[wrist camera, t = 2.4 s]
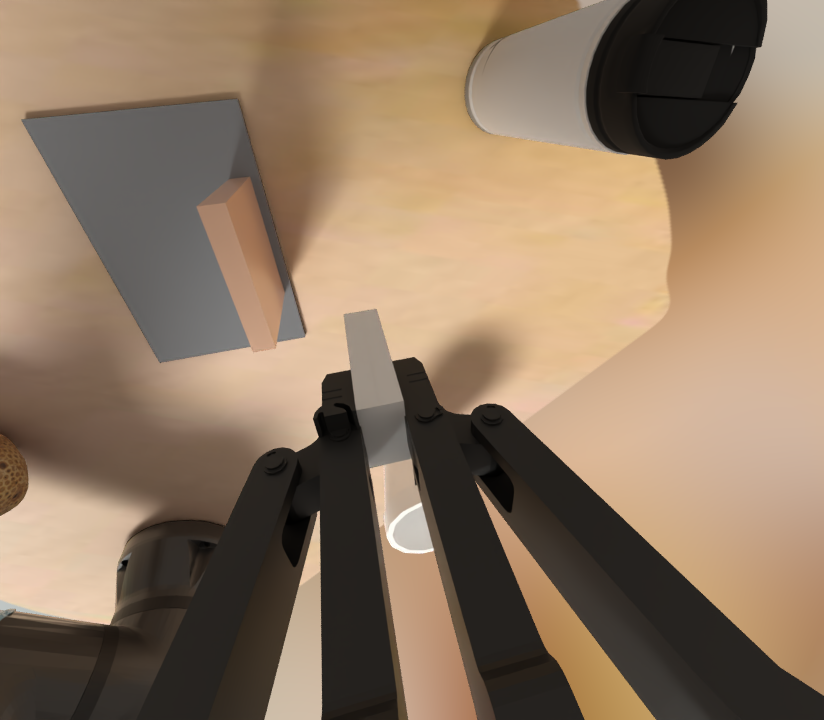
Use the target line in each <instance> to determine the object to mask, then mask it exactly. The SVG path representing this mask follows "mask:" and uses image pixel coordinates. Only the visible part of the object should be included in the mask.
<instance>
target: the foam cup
mask: <svg viewBox="0 0 824 720" xmlns="http://www.w3.org/2000/svg"><path fill="white" fill-rule="evenodd" d="M384 495H385V512H384V516H383V518H384V524H385V530H386V536H387V539H388V540H389V542H390V544H391V546H392V547H393V548H396V549H398V550H400V551H402V552H404V553H421V554H422V553H426V552H431V551H434V549H433V545H432V541H431V537H430V533H429V529H428V526H427V522H426V518H425V514H424V510H423V506H422V503H421V499H420V495H419V491H418V487H417V485H415V480H414V472H413V464H412V459H408V460H404V461H399V462H395V463H390V464H386V465H384Z"/></svg>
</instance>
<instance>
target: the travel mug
mask: <svg viewBox="0 0 824 720" xmlns="http://www.w3.org/2000/svg"><path fill="white" fill-rule="evenodd" d="M766 23H767V0H604V1H602V2H599V3H596V4H593V5H591V6H588V7H585V8H583V9H580V10H577V11H574V12H572V13H569V14H566V15H563V16H561V17H558V18H555V19H553V20H550V21H547V22H544V23H542V24H539V25H536V26H534V27H531V28H528V29H525V30H523V31H520V32H517V33H514V34H512V35H509V36H506V37H504V38H501V39H498V40H495V41H493V42H491V43H490V44H488V45H486V46H485V47H484V48H483V49H482V50H481V51H480V52H479V53H478V55H477V56H476V57H475V59H474V60H473V62H472V64H471V66H470V68H469V71H468V74H467V77H466V83H465V102H466V107H467V110H468V114H469V116H470V117H471V119H472V121H473V122H474V123H475V125H476V126H477V127H478V128H480V129H481V130H482V131H484V132H487V133H489V134H495V135H501V136H508V137H514V138H521V139H527V140H534V141H540V142H546V143H553V144H559V145H566V146H572V147H579V148H585V149H592V150H598V151H604V152H611V153H617V154H624V155H627V154H633V155H639V156H646V157H652V158H660V159H674V158H679V157H681V156H684V155H686V154H689V153H691V152H692V151H694V150H695V149H697V148H699V147H700V146H702V145H703V144H704V143H705V142H706V141H708V140H709V139H710V138H711V137H712V136H713V135H714V134H715V133H716V132H717V131H718V130H719V129H720V128H721V127H722V126H723V125H724V123H725V122H726V120H727V119H728V117H729V115H730V114H731V112H732V111H733V109H734V108H735V106H736V105H737V103H733V102H734V101H735V100H736V98H737V97H738V96H739V94H740V93H741V90H742V89H743V86H744V84H745V82H746V80H747V78H748V76H749V73H750V71H751V68H752V65H753V62H754V59H755V53H756V48H757V47H761V46H762V41H763V37H764V32H765V28H766Z"/></svg>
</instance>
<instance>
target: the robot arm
mask: <svg viewBox="0 0 824 720" xmlns="http://www.w3.org/2000/svg"><path fill="white" fill-rule="evenodd" d="M344 321H345V329H346V337H347V344H348V352H349V360H350V368H351V370H348V371H342V372H337V373H332V374H327V375H326V377H325V379H324V380H323V382H322V406H321V407H320V408H319V409H318V410H317V411H316V412H315V414H314V418H313V420H314V423H315V426H316V430H317V433H318V436H319V437H318V439H317V440H316V441H315V442H314V443H312V444H311V445H310V446H308V447H306V448H304V449H302V450H300V451H298V452H296V453H295V452H294V451H293V450H291V449H289V448H277V449H273V450H271V451H269V452H266V453H265V454H264V455H262V456H261V457H260V458H259V459H258V460H257V461H256V463H255V464H254V466H253V468H252V470H251V473H250V475H249V477H248V479H247V481H246V483H245V486H244V488H243V490H242V492H241V494H240V496H239V498H238V501H237V503H236V505H235V507H234V509H233V511H232V514H231V516H230V518H229V520H228V522H227V524H226V527H223V526H220V525H217V524H213V523H208V522H202V521H174V522H167V523H162V524H158V525H155V526H152V527H149V528H147V529H145V530H143V531H141V532H139V533H137V534H136V535H135V536H133V537H132V538H131V539H130V540H129V541H128V543H127V544H126V546H125V548H124V550H123V553H122V555H121V557H120V560H119V562H118V567H117V582H116V603H115V613H114V616H113V619H112V621H111V624H110V625H104V624H97V623H90V622H84V621H77V620H70V619H64V618H57V617H50V616H43V615H37V614H30V613H23V612H16V609H8V610H6V611H3V610H0V720H264V718H265V715H266V711H267V707H268V703H269V699H270V695H271V691H272V687H273V684H274V680H275V676H276V672H277V668H278V664H279V660H280V656H281V653H282V649H283V645H284V641H285V637H286V633H287V629H288V625H289V621H290V618H291V614H292V610H293V606H294V602H295V598H296V594H297V590H298V587H299V583H300V579H301V575H302V571H303V567H304V564H305V560H306V556H307V552H308V548H309V544H310V540H311V536H312V533H313V529H314V525H315V521H316V517H317V512H318V511H320V555H321V637H322V638H321V639H322V640H321V641H322V718H321V720H408V716H407V710H406V703H405V696H404V689H403V683H402V676H401V669H400V663H399V656H398V650H397V643H396V636H395V630H394V624H393V616H392V610H391V603H390V597H389V590H388V583H387V578H386V570H385V564H384V557H383V550H382V544H381V537H380V530H379V524H378V517H377V511H376V504H375V497H374V491H373V484H372V479H371V474H370V469H369V468H372V467H377V466H381V465H386V464H390V463H395V462H399V461H404V460H408V459H412V464H413V472H414V480H415V485H417V487H418V491H419V495H420V499H421V503H422V506H423V510H424V514H425V518H426V522H427V526H428V529H429V533H430V537H431V541H432V545H433V549H434V552H435V556H436V560H437V564H438V568H439V572H440V576H441V579H442V583H443V587H444V591H445V595H446V598H447V602H448V606H449V610H450V614H451V618H452V622H453V625H454V629H455V633H456V637H457V641H458V645H459V649H460V652H461V656H462V660H463V664H464V667H465V671H466V675H467V679H468V683H469V687H470V691H471V695H472V698H473V702H474V706H475V710H476V715H477V719H478V720H584V717H583V715H582V713H581V710H580V708H579V706H578V703H577V701H576V699H575V696H574V694H573V692H572V690H571V688H570V685H569V683H568V681H567V679H566V677H565V675H564V673H563V671H562V669H561V667H560V666H559V664H558V663H557V661H556V660H555V659H554V658H553V657H552V656H551V655H550V654H549V653H548V652H547V650H546V648H545V647H544V644H543V642H542V640H541V638H540V635H539V633H538V631H537V628H536V626H535V623H534V621H533V619H532V616H531V614H530V611H529V609H528V607H527V605H526V602H525V599H524V597H523V595H522V592H521V590H520V588H519V585H518V583H517V581H516V578H515V576H514V573H513V571H512V568H511V566H510V564H509V561H508V559H507V557H506V554H505V552H504V549H503V547H502V544H501V542H500V540H499V537H498V535H497V532H496V530H495V528H494V525H493V523H492V520H491V518H490V516H489V513H488V511H487V508H486V506H485V504H484V501H483V499H482V496H481V495H480V492H479V490H478V487H477V484H478V485H479V486H480V488H481V489H482V491H483V492H484V493H485V494H486V496H487V497H488V498H489V500H490V501H491V502H492V504H493V505H494V506H495V508H496V509H497V510H498V512H499V513H500V514H501V516H502V517H503V518H504V520H505V521H506V522H507V524H508V525H509V526H510V527H511V529H512V530H513V531H514V533H515V534H516V535H517V537H518V538H519V539H520V541H521V542H522V543H523V545H524V546H525V547H526V548H527V550H528V551H529V552H530V554H531V555H532V556H533V558H534V559H535V560H536V562H537V563H538V564H539V566H540V567H541V568H542V570H543V571H544V572H545V574H546V575H547V576H548V578H549V579H550V580H551V582H552V583H553V584H554V586H555V587H556V588H557V589H558V591H559V592H560V593H561V595H562V596H563V597H564V599H565V600H566V601H567V603H568V604H569V605H570V607H571V608H572V609H573V611H574V612H575V613H576V614H577V616H578V617H579V619H580V620H581V621H582V622H583V624H584V625H585V626H586V628H587V629H588V630H589V632H590V633H591V634H592V636H593V637H594V638H595V639H596V641H597V642H598V644H599V645H600V646H601V647H602V649H603V650H604V652H605V653H606V654H607V655H608V657H609V658H610V659H611V661H612V662H613V663H614V665H615V666H616V667H617V669H618V670H619V671H620V673H621V674H622V675H623V676H624V678H625V679H626V680H627V682H628V683H629V684H630V685H631V687H632V688H633V690H634V691H635V692H636V694H637V695H638V696H639V698H640V699H641V700H642V702H643V703H644V704H645V706H646V707H647V708H648V710H649V711H650V712H651V714H652V715H653V716H654V717H655V719H656V720H824V696H823V695H822V694H820V693H818V692H817V691H815V690H814V689H812V688H811V687H809V686H808V685H806V684H805V683H803V682H802V681H800V680H799V679H797V678H795V677H794V676H792V675H791V674H789V673H788V672H786V671H785V670H783V669H781V668H780V667H779V666H778V665H777V664H776V663H775V662H773V661H772V660H771V659H770V658H769V657H768V656H767V655H766V654H765V653H764V652H763V651H762V650H761V649H760V648H759V647H758V646H757V645H756V644H755V643H754V642H752V641H751V640H750V639H749V638H748V637H747V636H746V635H745V634H744V633H743V632H742V631H741V630H740V629H739V628H738V627H737V626H736V625H735V624H733V623H732V622H731V621H730V620H729V619H728V618H727V617H726V616H725V615H724V614H723V613H722V612H721V611H720V610H719V609H718V608H716V606H714V605H713V604H712V603H711V602H710V601H709V600H708V599H707V598H706V597H705V596H704V595H703V594H702V593H701V592H700V591H699V590H698V589H696V588H695V587H694V586H693V585H692V584H691V583H690V582H689V581H688V580H687V579H686V578H685V577H684V576H683V575H682V574H681V573H680V572H679V571H677V570H676V569H675V568H674V567H673V566H672V565H671V564H670V563H669V562H668V561H667V560H666V559H665V558H664V557H663V556H662V555H661V554H660V553H659V552H658V551H656V550H655V549H654V548H653V547H652V546H651V545H650V544H649V543H648V542H647V541H646V540H645V539H644V538H643V537H642V536H641V535H639V533H638V532H636V531H635V530H634V529H633V528H632V527H631V526H630V525H629V524H628V523H627V522H626V521H625V520H624V519H623V518H622V517H621V516H620V515H619V514H617V513H616V512H615V511H614V510H613V509H612V508H611V507H610V506H609V505H608V504H607V503H606V502H605V501H604V500H603V499H602V498H601V497H600V496H599V495H597V494H596V493H595V492H594V491H593V490H592V489H591V488H590V487H589V486H588V485H587V484H586V483H585V482H584V481H583V480H582V479H581V478H580V477H579V476H577V475H576V474H575V473H574V472H573V471H572V470H571V469H570V468H569V467H568V466H567V465H566V464H565V463H564V462H563V461H562V460H561V459H560V458H558V457H557V456H556V455H555V454H554V453H553V452H552V451H551V450H550V449H549V448H548V447H547V446H546V445H545V444H543V442H541V440H540V439H538V438H537V437H536V436H535V435H534V434H533V433H532V432H531V431H530V430H529V429H528V428H527V427H526V426H525V425H524V424H523V423H522V422H521V421H519V420H518V419H517V418H516V417H515V416H514V415H513V414H512V413H511V412H510V411H509V410H508V409H506V408H505V407H503V406H500V405H497V404H483V405H480V406H478V407H476V408H475V409H474V410H473V412H472V413H471V415H464V414H454V413H451V412H448V411H446V410H445V409H444V408H443V407H442V406H441V405H439V403H438V401H437V399H436V396H435V394H434V391H433V389H432V386H431V384H430V381H429V380H428V377H427V374H426V372H425V369H424V367H423V364H422V363H421V362H420V361H419V360H417V359H416V358H415V357H412V358H407V359H402V360H396V361H392V360H391V356H390V353H389V349H388V346H387V343H386V339H385V336H384V332H383V329H382V326H381V322H380V319H379V315H378V312H377V309H373V310H367V311H361V312H355V313H349V314H344ZM475 481H476V482H475ZM476 483H477V484H476Z"/></svg>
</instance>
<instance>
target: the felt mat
mask: <svg viewBox="0 0 824 720" xmlns="http://www.w3.org/2000/svg"><path fill="white" fill-rule="evenodd" d="M22 122H23V124H24V126H25V127H26V129H27V131H28V133H29V134H30V136H31V138H32V140H33V141H34V143H35V145H36V147H37V148H38V150H39V152H40V154H41V155H42V157H43V159H44V161H45V162H46V164H47V166H48V168H49V169H50V171H51V173H52V175H53V176H54V178H55V180H56V182H57V183H58V185H59V187H60V189H61V190H62V192H63V194H64V196H65V198H66V199H67V201H68V203H69V205H70V206H71V208H72V210H73V212H74V213H75V215H76V217H77V219H78V220H79V222H80V224H81V226H82V227H83V229H84V231H85V233H86V234H87V236H88V238H89V240H90V241H91V243H92V245H93V247H94V248H95V250H96V252H97V254H98V255H99V257H100V259H101V261H102V262H103V264H104V266H105V268H106V269H107V271H108V273H109V275H110V276H111V278H112V280H113V282H114V283H115V285H116V287H117V289H118V290H119V292H120V294H121V296H122V297H123V299H124V301H125V303H126V304H127V306H128V308H129V310H130V311H131V313H132V315H133V317H134V318H135V320H136V322H137V324H138V326H139V327H140V329H141V331H142V333H143V334H144V336H145V338H146V340H147V341H148V343H149V345H150V347H151V348H152V350H153V352H154V354H155V355H156V357H157V359H158V361H159V362H160V363H161V362H167V361H172V360H178V359H184V358H189V357H195V356H201V355H206V354H212V353H218V352H223V351H229V350H235V349H240V348H246V347H251V346H250V343H249V341H248V338H247V335H246V333H245V330H244V328H243V325H242V323H241V320H240V318H239V315H238V312H237V310H236V307H235V305H234V302H233V300H232V297H231V294H230V292H229V289H228V287H227V284H226V282H225V279H224V276H223V274H222V271H221V269H220V266H219V264H218V261H217V258H216V256H215V253H214V251H213V248H212V246H211V243H210V240H209V238H208V235H207V233H206V230H205V228H204V225H203V223H202V220H201V217H200V215H199V212H198V210H197V207H196V206H198V205H199V204H200V203H201V202H202V201H203V200H205V199H206V198H207V197H208V196H209V195H211V194H212V193H213V192H214V191H215V190H217V189H218V188H219V187H220V186H221V185H223V184H224V183H225V182H226V181H227V180H228V179H234V178H242V177H250V178H251V182H252V185H253V188H254V192H255V195H256V198H257V202H258V205H259V208H260V212H261V215H262V218H263V222H264V225H265V228H266V232H267V235H268V238H269V242H270V245H271V248H272V252H273V255H274V258H275V262H276V265H277V269H278V272H279V275H280V279H281V282H282V285H283V289H284V292H285V295H284V301H283V307H282V313H281V320H280V326H279V332H278V338H277V342H280V341H286V340H291V339H297V338H303V337H305V332H304V328H303V325H302V321H301V318H300V314H299V311H298V307H297V304H296V300H295V297H294V293H293V290H292V286H291V283H290V279H289V276H288V272H287V269H286V265H285V262H284V258H283V255H282V251H281V248H280V244H279V241H278V237H277V234H276V230H275V227H274V223H273V220H272V216H271V213H270V209H269V206H268V202H267V199H266V195H265V192H264V188H263V185H262V181H261V178H260V174H259V171H258V167H257V164H256V160H255V157H254V153H253V150H252V146H251V143H250V139H249V135H248V132H247V128H246V125H245V121H244V118H243V114H242V111H241V107H240V104H239V100H238V99H230V100H219V101H209V102H199V103H188V104H178V105H168V106H157V107H147V108H136V109H126V110H116V111H105V112H95V113H85V114H74V115H64V116H53V117H43V118H33V119H22Z"/></svg>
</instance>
